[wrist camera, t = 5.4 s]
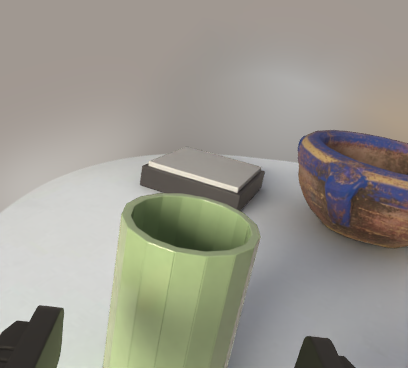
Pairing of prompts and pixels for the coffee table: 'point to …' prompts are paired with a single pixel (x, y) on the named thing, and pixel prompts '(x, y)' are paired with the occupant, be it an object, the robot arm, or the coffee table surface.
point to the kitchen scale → (203, 176)
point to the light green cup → (178, 282)
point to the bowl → (357, 185)
